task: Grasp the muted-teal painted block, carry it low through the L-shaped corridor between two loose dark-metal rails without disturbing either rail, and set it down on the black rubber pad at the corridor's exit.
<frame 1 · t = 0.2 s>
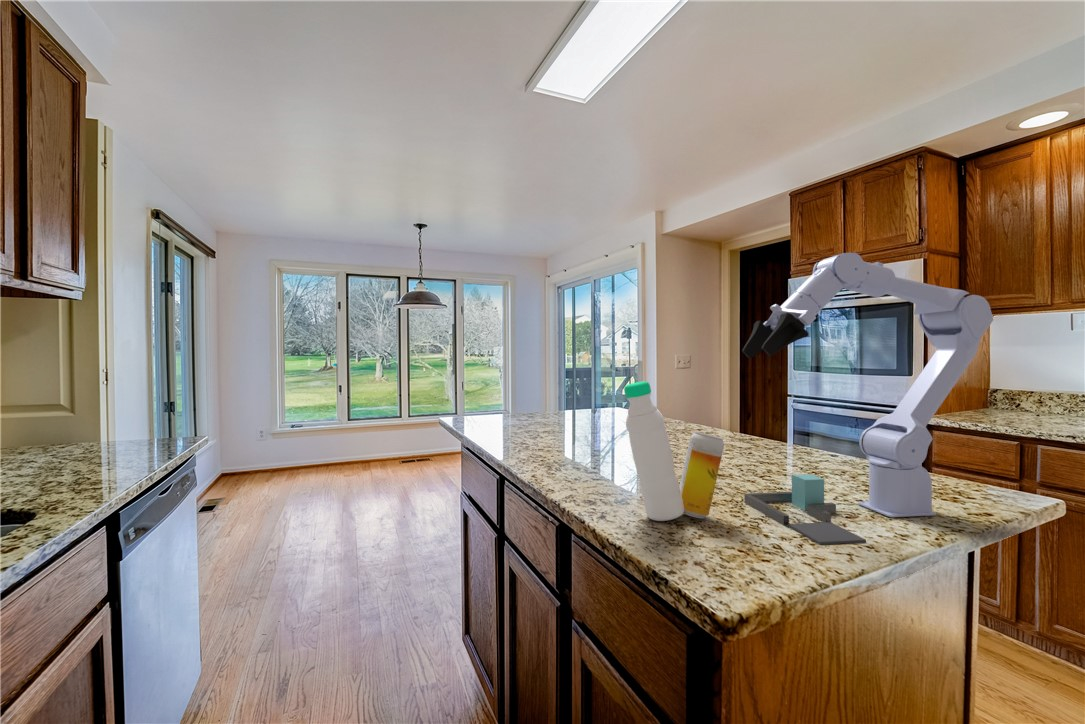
hand: (755, 353, 86), 31 cm above the countertop, tool tilted 45°, fingers open, 7 cm apart
teal block: (807, 507, 92), on the countertop
outer rail: (806, 501, 96), on the countertop
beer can: (690, 514, 86), point 1 cm above the countertop, touching water bottle
rubber pad: (825, 533, 78), on the countertop
water bottle: (666, 515, 85), point 1 cm above the countertop, touching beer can
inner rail: (834, 514, 88), on the countertop
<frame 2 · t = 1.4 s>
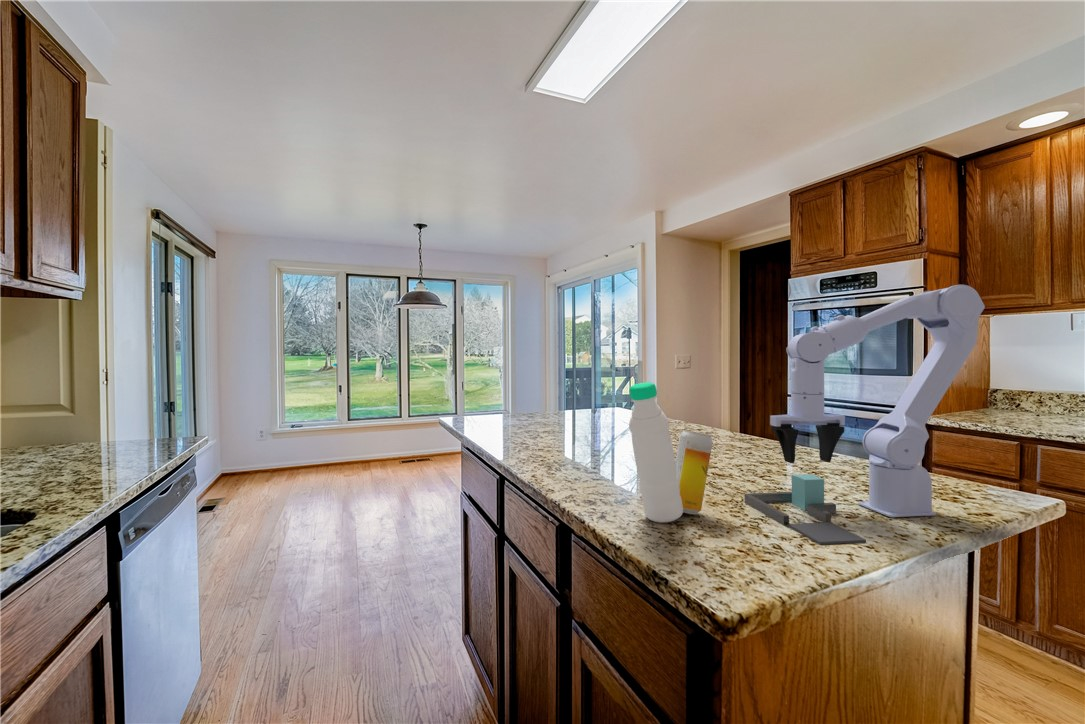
hand: (807, 461, 92), 9 cm above the countertop, tool pointing down, fingers open, 7 cm apart
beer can: (683, 511, 88), point 1 cm above the countertop, touching water bottle
water bottle: (664, 515, 85), point 1 cm above the countertop, touching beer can
everything else where it was.
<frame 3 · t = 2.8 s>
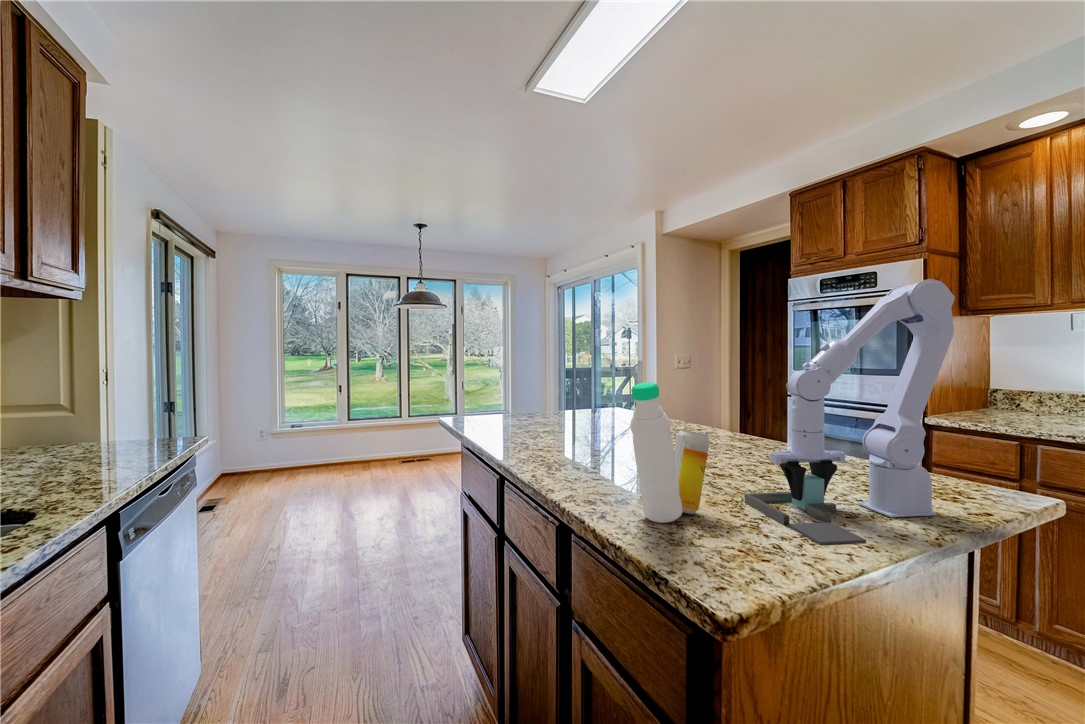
hand: (807, 498, 92), 2 cm above the countertop, tool pointing down, fingers closed on teal block, 4 cm apart
teal block: (807, 506, 92), on the countertop, touching gripper
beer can: (681, 510, 88), point 1 cm above the countertop, touching water bottle
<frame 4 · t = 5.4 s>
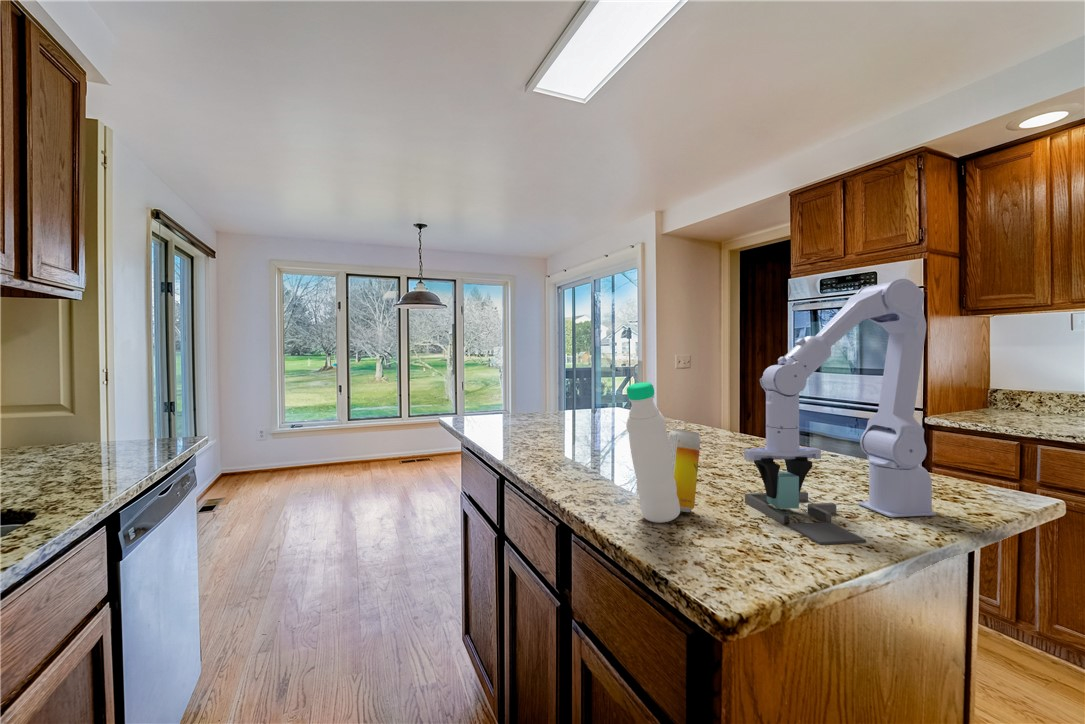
hand: (782, 496, 89), 3 cm above the countertop, tool pointing down, fingers closed on teal block, 4 cm apart
teal block: (782, 504, 89), point 1 cm above the countertop, touching gripper
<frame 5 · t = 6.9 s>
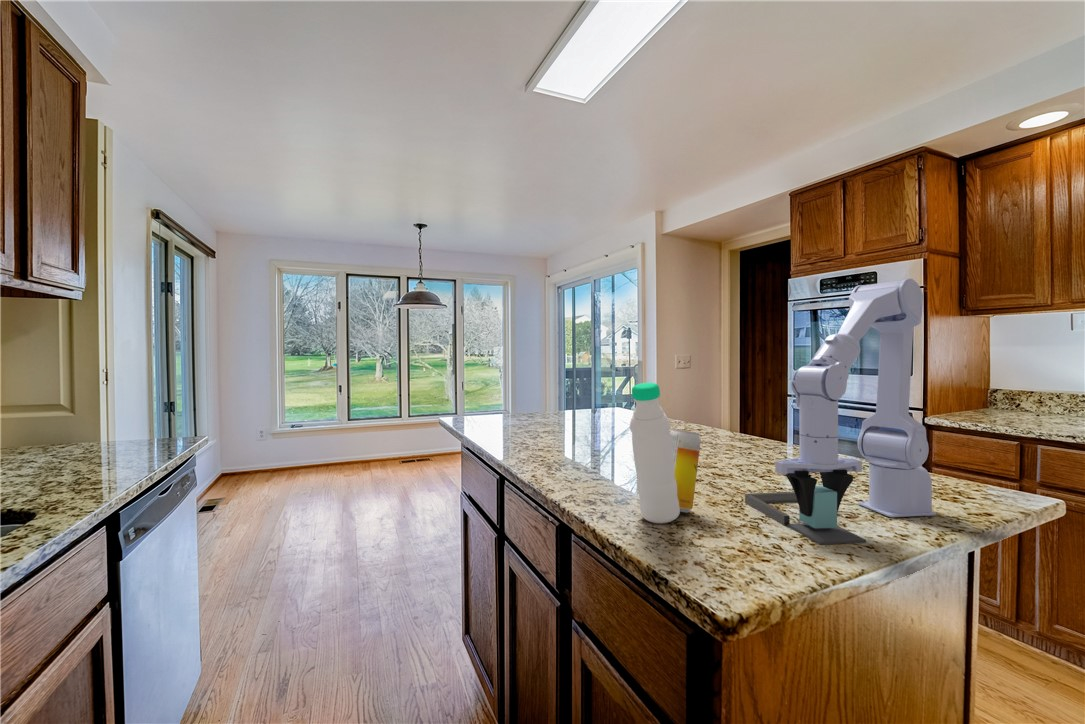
hand: (818, 514, 79), 3 cm above the countertop, tool pointing down, fingers closed on teal block, 4 cm apart
teal block: (817, 523, 79), point 1 cm above the countertop, touching gripper
when the fingers open (2 cm above the countertop, at t = 8.2 s): teal block stays where it is, resting on rubber pad.
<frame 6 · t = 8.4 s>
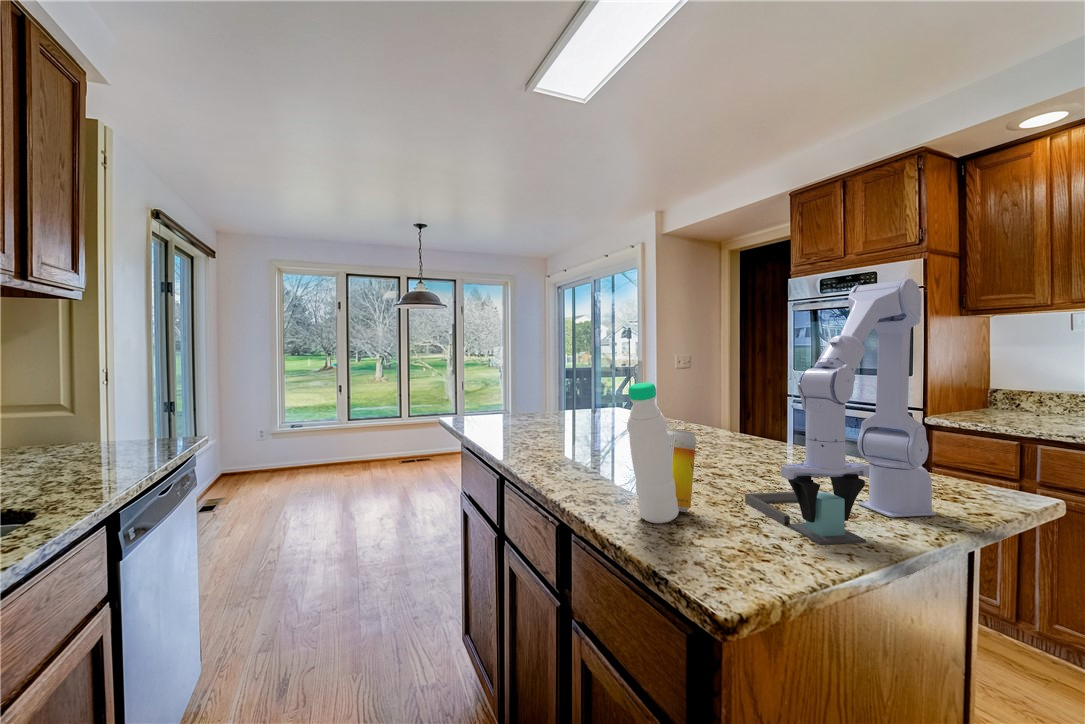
hand: (825, 519, 78), 2 cm above the countertop, tool pointing down, fingers open, 5 cm apart
teal block: (824, 531, 78), resting on rubber pad
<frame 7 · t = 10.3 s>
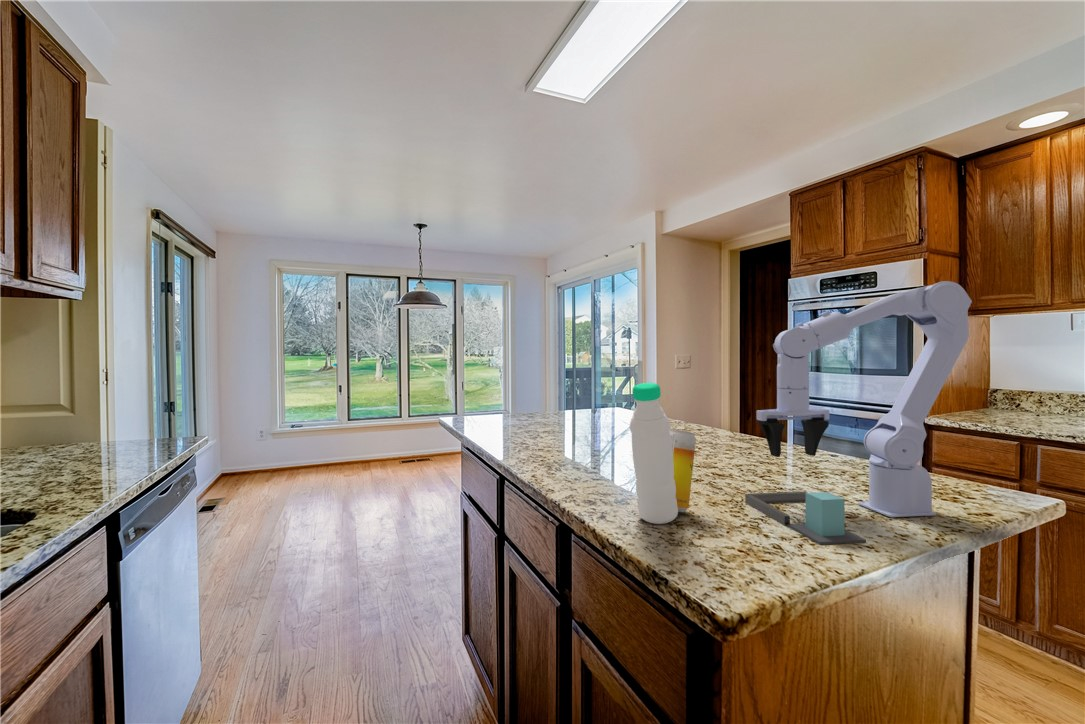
hand: (792, 455, 93), 10 cm above the countertop, tool pointing down, fingers open, 7 cm apart
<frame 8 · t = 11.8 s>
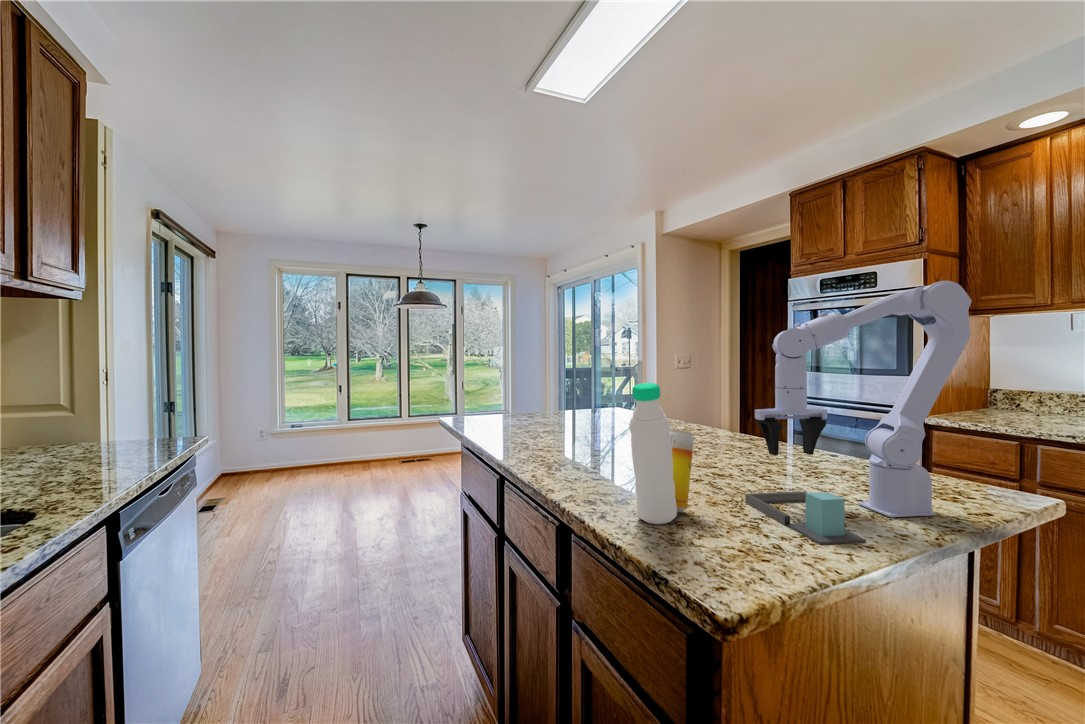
hand: (790, 454, 94), 10 cm above the countertop, tool pointing down, fingers open, 7 cm apart
at the end: teal block inside the target area on the rubber pad (0.2 cm from its centre), point 0.4 cm above the rubber pad's base; outer rail moved 0.4 cm from its start; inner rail moved 0.3 cm from its start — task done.
